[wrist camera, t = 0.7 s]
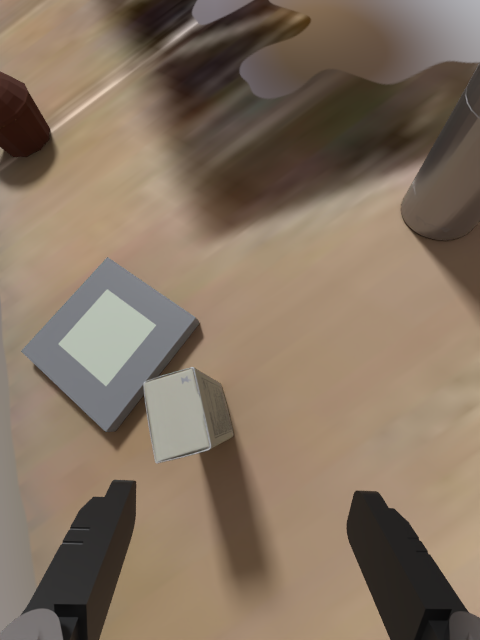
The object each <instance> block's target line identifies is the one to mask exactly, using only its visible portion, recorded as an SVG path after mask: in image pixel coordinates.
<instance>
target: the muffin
mask: <svg viewBox="0 0 480 640" xmlns="http://www.w3.org/2000/svg"><path fill="white" fill-rule="evenodd" d="M49 132H50V128H49V126H48V125H47V123H46V121H45V119H44V118H43V116H42V114H41V113H40V111H39V109H38V107H37V106H36V104H35V102H34V101H33V99H32V97H31V95H30V94H29V92H28V90H27V88H26V86H25V84H24V83H22V82H20V81H18V80H16V79H15V78H13V77H11V76H9V75H6V74H4V73H2V72H0V147H1V148H2V149H4V150H5V151H6V152H7V153H9V154H10V155H11V156H13V157H27V156H29V155H31V154H33V153H34V152H37V151H39V150H41V149H42V147H43V146H44V144H45V143H46V142H47V141H48V140H49V139H50V138H49Z"/></svg>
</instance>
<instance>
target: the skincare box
mask: <svg viewBox="0 0 480 640" xmlns="http://www.w3.org/2000/svg"><path fill="white" fill-rule="evenodd" d="M143 387H144V397H145V405H146V412H147V419H148V425H149V431H150V436H151V442H152V447H153V453H154V458H155V462H156V463H161V462H165V461H170V460H174V459H178V458H182V457H186V456H190V455H194V454H197V453H201V452H204V451H208V450H210V449H212V448H214V447H215V446H217V445H219V444H221V443H223V442H224V441H226V440H228V439H230V438H232V437H233V436H234V434H233V429H232V424H231V420H230V416H229V412H228V408H227V404H226V400H225V396H224V393H223V389H222V386H221V383H219V382H218V381H216V380H214V379H213V378H211V377H209V376H207V375H206V374H204V373H202V372H201V371H199V370H197V369H196V368H194V367H191V368H187V369H183V370H180V371H176V372H173V373H169V374H166V375H162V376H159V377H156V378H153V379H150V380H147V381H145V382H144V383H143Z"/></svg>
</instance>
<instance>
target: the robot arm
mask: <svg viewBox="0 0 480 640" xmlns="http://www.w3.org/2000/svg"><path fill="white" fill-rule="evenodd" d="M401 213H402V216H403V218H404V220H405V222H406V223H407V225H408V226H409V227H410V228H411V229H413V230H414V231H415V232H417V233H418V234H420V235H422V236H425V237H428V238H430V239H436V240H451V239H456V238H459V237H462V236H464V235H465V234H467V233H469V232H470V231H471V230H472V229H473V228H474V227H475V226H476V225H477V224H478V223H479V222H480V63H479V65H478V67H477V69H476V71H475V72H474V74H473V76H472V78H471V79H470V81H469V83H468V85H467V87H466V89H465V90H464V92H463V94H462V96H461V97H460V99H459V101H458V103H457V105H456V106H455V108H454V110H453V112H452V113H451V115H450V117H449V119H448V121H447V122H446V124H445V126H444V128H443V129H442V131H441V133H440V135H439V136H438V138H437V140H436V142H435V144H434V145H433V147H432V149H431V151H430V152H429V154H428V156H427V158H426V159H425V161H424V163H423V165H422V167H421V168H420V170H419V172H418V173H417V175H416V177H415V179H414V180H413V182H412V184H411V186H410V188H409V189H408V191H407V193H406V195H405V196H404V198H403V201H402V204H401ZM135 517H136V481H129V480H113V481H112V483H111V485H110V487H109V489H108V491H107V493H106V495H105V497H93V498H92V499H91V500H90V501H89V502H88V503H87V504H86V505H85V506H84V507H82V508H81V509H80V510H79V512H78V514H77V516H76V518H75V520H74V521H73V523H72V525H71V527H70V530H69V531H68V532H67V534H66V536H65V538H64V540H63V543H62V545H60V547H59V549H58V551H57V553H56V555H55V556H54V558H53V560H52V562H51V564H50V566H49V567H48V569H47V571H46V573H45V575H44V577H43V578H42V580H41V582H40V584H39V586H38V588H37V589H36V591H35V593H34V595H33V597H32V599H31V600H30V603H29V604H28V605H27V607H26V609H25V610H24V611H23V613H22V614H21V615H20V616H19V617H18V618H16V619H15V620H13V621H12V622H11V623H10V624H9V625H7V626H6V628H4V629H3V630H2V632H1V633H0V640H99V638H100V635H101V632H102V628H103V625H104V622H105V619H106V616H107V613H108V610H109V606H110V603H111V600H112V597H113V594H114V591H115V587H116V584H117V581H118V578H119V575H120V572H121V568H122V565H123V562H124V559H125V556H126V553H127V550H128V546H129V543H130V540H131V537H132V533H133V529H134V524H135ZM347 535H348V539H349V543H350V545H351V547H352V550H353V552H354V555H355V557H356V559H357V562H358V564H359V566H360V569H361V571H362V574H363V576H364V578H365V581H366V583H367V585H368V588H369V590H370V592H371V595H372V597H373V600H374V602H375V604H376V607H377V609H378V611H379V614H380V616H381V618H382V621H383V623H384V626H385V628H386V630H387V633H388V635H389V637H390V640H480V618H479V617H477V616H475V615H473V614H471V613H469V612H468V611H467V609H466V608H465V606H464V605H463V603H462V602H461V600H460V599H459V597H458V596H457V594H456V593H455V591H454V590H453V588H452V587H451V585H450V584H449V582H448V581H447V579H446V578H445V576H444V575H443V573H442V572H441V570H440V569H439V567H438V566H437V564H436V563H435V561H434V560H433V558H432V557H431V555H429V554H428V551H427V549H426V548H425V546H424V545H423V543H422V542H421V541H419V537H418V536H417V534H416V533H415V531H414V530H413V528H412V527H411V525H410V524H409V522H408V521H407V520H406V519H405V518H403V517H402V516H401V515H400V514H399V513H398V512H397V511H396V510H395V509H393V508H388V506H387V504H386V503H385V501H384V500H383V498H382V496H381V495H380V494H379V493H378V492H376V491H355V493H354V495H353V499H352V503H351V507H350V512H349V516H348V520H347Z"/></svg>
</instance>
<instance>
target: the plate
mask: <svg viewBox="0 0 480 640" xmlns="http://www.w3.org/2000/svg"><path fill="white" fill-rule="evenodd" d="M198 325H199V321H198V320H197V319H196V317H194V316H193V315H191V314H190V313H188V312H187V311H185V310H184V309H182V308H181V307H180V306H178V305H177V304H175V303H174V302H172V301H171V300H169V299H168V298H166V297H165V296H163V295H162V294H161V293H159V292H158V291H156V290H155V289H153V288H152V287H150V286H149V285H147V284H146V283H144V282H143V281H142V280H140V279H139V278H137V277H136V276H134V275H133V274H131V273H130V272H128V271H127V270H126V269H124V268H123V267H121V266H120V265H118V264H117V263H115V262H114V261H112V260H111V259H109V258H108V257H107V258H106V259H105V260H104V261H103V263H102V264H101V265H100V266H99V267H98V268H97V269H96V270H95V271H94V272H93V273H92V275H91V276H90V277H89V278H88V279H87V280H86V281H85V282H84V283H83V284H82V285H81V286H80V288H79V289H78V290H77V291H76V292H75V293H74V294H73V295H72V296H71V297H70V298H69V300H68V301H67V302H66V303H65V304H64V305H63V306H62V307H61V308H60V309H59V310H58V312H57V313H56V314H55V315H54V316H53V317H52V318H51V319H50V320H49V321H48V322H47V323H46V325H45V326H44V327H43V328H42V329H41V330H40V331H39V332H38V333H37V334H36V335H35V337H34V338H33V339H32V340H31V341H30V342H29V343H28V344H27V345H26V346H25V347H24V349H23V350H22V351H21V352H22V353H24V354H25V355H26V356H27V357H28V358H29V359H30V360H31V361H32V362H33V363H34V364H35V365H36V366H37V367H38V368H39V369H40V370H41V371H42V372H43V373H44V374H45V375H47V376H48V377H49V378H50V379H51V380H52V381H53V382H54V383H55V384H56V385H57V386H58V387H59V388H60V389H61V390H62V391H63V392H64V393H65V394H66V395H67V396H69V397H70V398H71V399H72V400H73V401H74V402H75V403H76V404H77V405H78V406H79V407H80V408H81V409H82V410H83V411H84V412H85V413H86V414H87V415H88V416H89V417H91V418H92V419H93V420H94V421H95V422H96V423H97V424H98V425H99V426H100V427H101V428H102V429H103V430H104V431H105V432H114V431H116V430H117V429H118V427H119V426H120V425H121V423H122V422H123V421H124V420H125V418H126V417H127V416H128V414H129V413H130V412H131V411H132V409H133V408H134V407H135V406H136V404H137V403H138V402H139V400H140V399H141V398H142V397H143V395H144V387H143V383H144V382H145V381H147V380H150V379H153V378H156V377H158V376H159V375H160V373H161V372H162V371H163V370H164V368H165V367H166V366H167V364H168V363H169V362H170V361H171V359H172V358H173V357H174V355H175V354H176V353H177V352H178V350H179V349H180V348H181V347H182V345H183V344H184V343H185V341H186V340H187V339H188V338H189V336H190V335H191V334H192V332H193V331H194V330H195V329H196V327H197V326H198Z"/></svg>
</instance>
